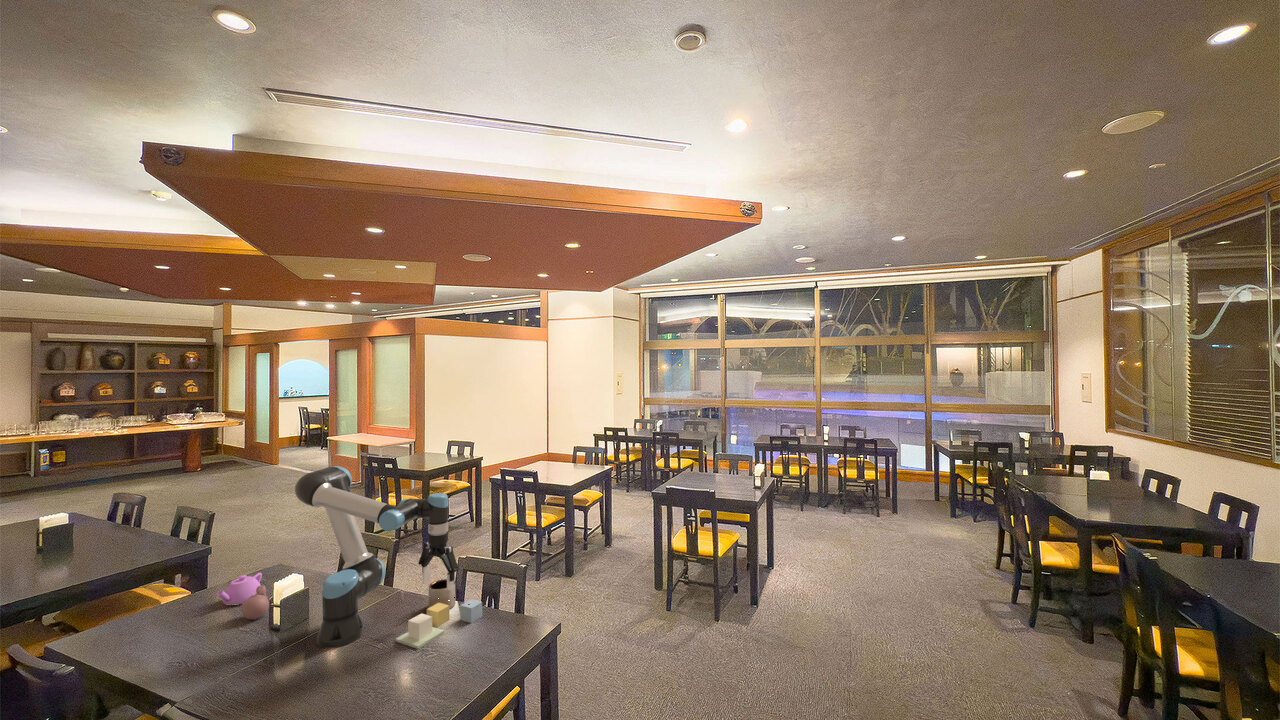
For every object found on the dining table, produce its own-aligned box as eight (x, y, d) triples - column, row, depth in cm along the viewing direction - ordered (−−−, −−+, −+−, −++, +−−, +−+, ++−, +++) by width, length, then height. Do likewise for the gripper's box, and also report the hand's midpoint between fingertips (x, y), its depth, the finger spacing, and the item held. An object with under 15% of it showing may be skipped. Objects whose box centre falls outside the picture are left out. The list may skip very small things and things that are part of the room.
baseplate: (395, 641, 183) (395, 622, 183) (422, 626, 194) (422, 608, 194) (418, 649, 178) (418, 629, 178) (444, 632, 189) (444, 614, 189)
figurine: (254, 611, 208) (254, 582, 208) (274, 614, 205) (274, 585, 205) (232, 621, 199) (232, 592, 199) (253, 624, 196) (253, 594, 197)
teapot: (204, 610, 209) (204, 585, 209) (248, 589, 229) (248, 567, 229) (232, 612, 207) (232, 587, 207) (274, 591, 226) (274, 568, 227)
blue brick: (460, 620, 199) (460, 605, 199) (471, 613, 204) (471, 599, 204) (471, 623, 196) (471, 608, 196) (482, 616, 201) (482, 601, 201)
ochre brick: (426, 624, 196) (426, 609, 196) (438, 617, 201) (438, 602, 201) (437, 627, 193) (437, 612, 193) (449, 620, 198) (449, 605, 199)
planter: (449, 612, 205) (449, 589, 205) (423, 612, 205) (423, 589, 205) (459, 600, 215) (459, 578, 216) (434, 600, 216) (434, 578, 216)
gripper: (409, 531, 200) (409, 583, 199) (453, 540, 189) (453, 595, 188) (424, 525, 206) (424, 576, 206) (467, 534, 195) (467, 587, 195)
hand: (438, 585), depth 197 cm, fingers open, 13 cm apart
